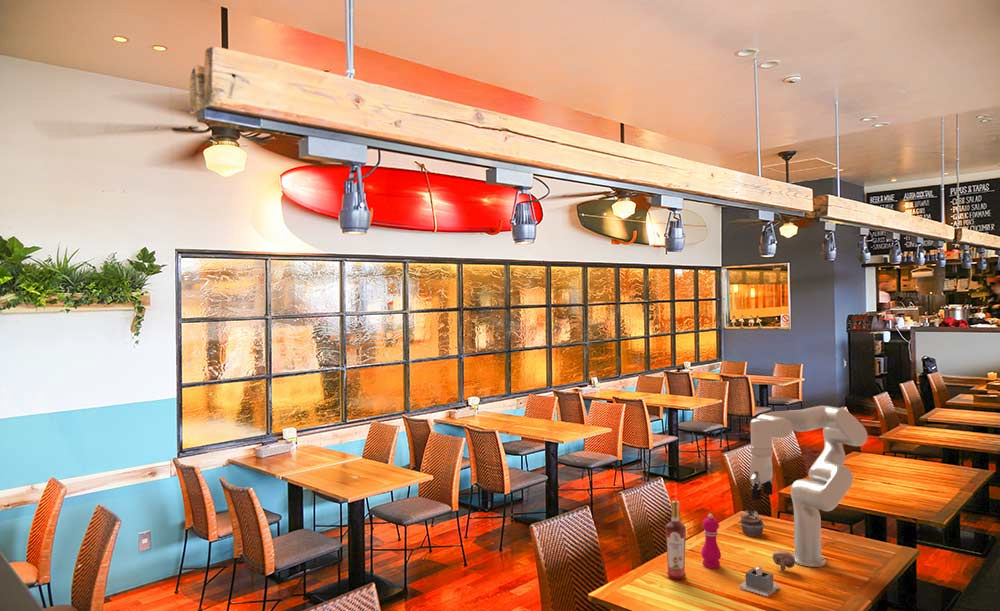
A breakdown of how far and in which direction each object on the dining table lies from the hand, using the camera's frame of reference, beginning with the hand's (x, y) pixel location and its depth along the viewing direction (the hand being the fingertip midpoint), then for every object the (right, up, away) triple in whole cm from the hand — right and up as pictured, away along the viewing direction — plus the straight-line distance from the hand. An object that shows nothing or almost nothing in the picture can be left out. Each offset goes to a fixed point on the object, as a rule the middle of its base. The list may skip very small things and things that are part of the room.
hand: (762, 496), depth 242 cm
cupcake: (+12, -29, +41) cm, 51 cm away
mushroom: (+8, -28, 0) cm, 30 cm away
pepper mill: (-17, -29, +6) cm, 34 cm away
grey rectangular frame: (-7, -27, -14) cm, 31 cm away
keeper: (-7, -28, -14) cm, 32 cm away
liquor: (-34, -29, -4) cm, 44 cm away
